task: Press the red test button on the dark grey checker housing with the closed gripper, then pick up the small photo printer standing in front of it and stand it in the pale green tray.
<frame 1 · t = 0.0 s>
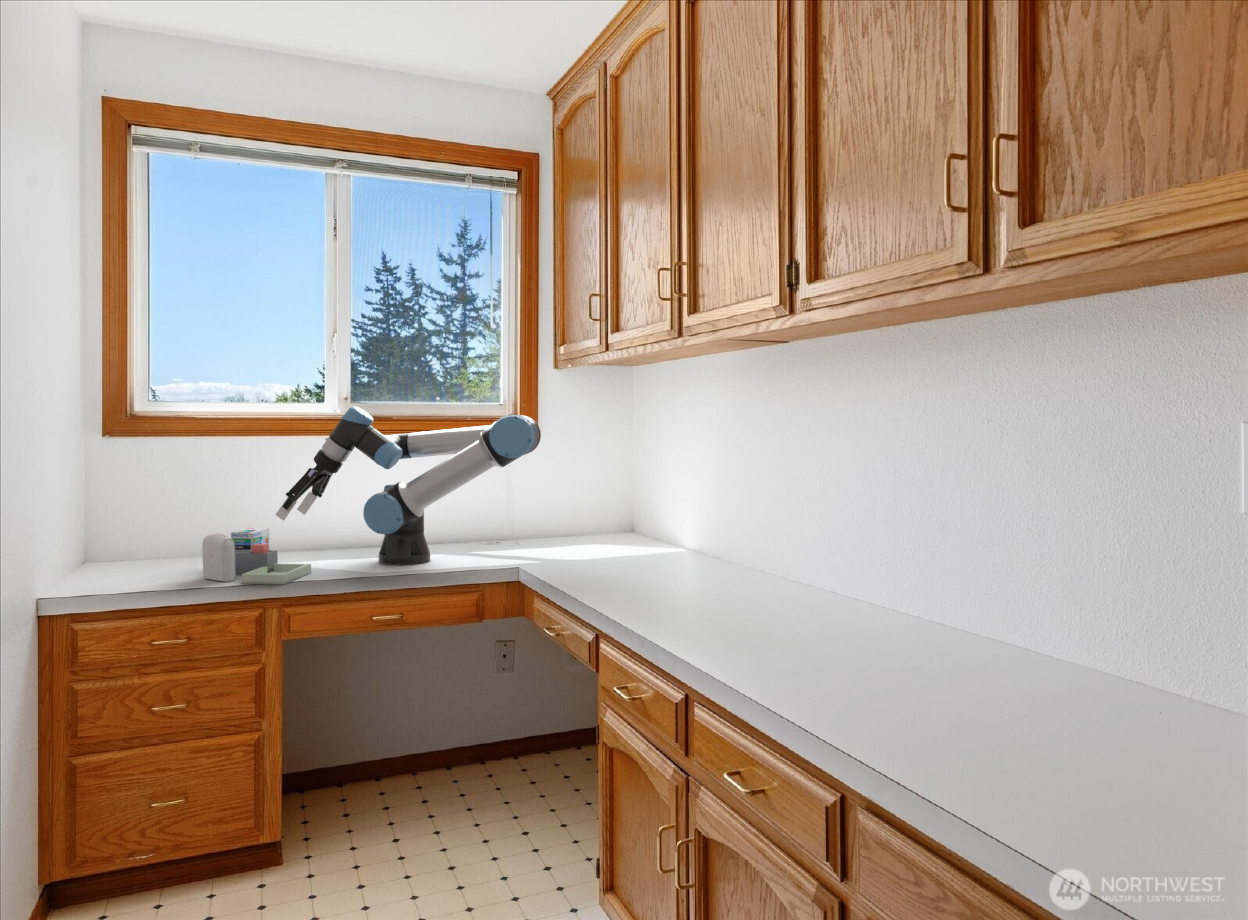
hand: (290, 514, 241), 15 cm above the table, tool tilted 35°, fingers open, 13 cm apart
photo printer: (219, 580, 224), on the table
test button: (260, 553, 232), point 5 cm above the table, slide at 0.0 cm
pale green tray: (277, 578, 226), on the table
light bulb box: (251, 567, 243), on the table
checker housing: (248, 572, 233), on the table
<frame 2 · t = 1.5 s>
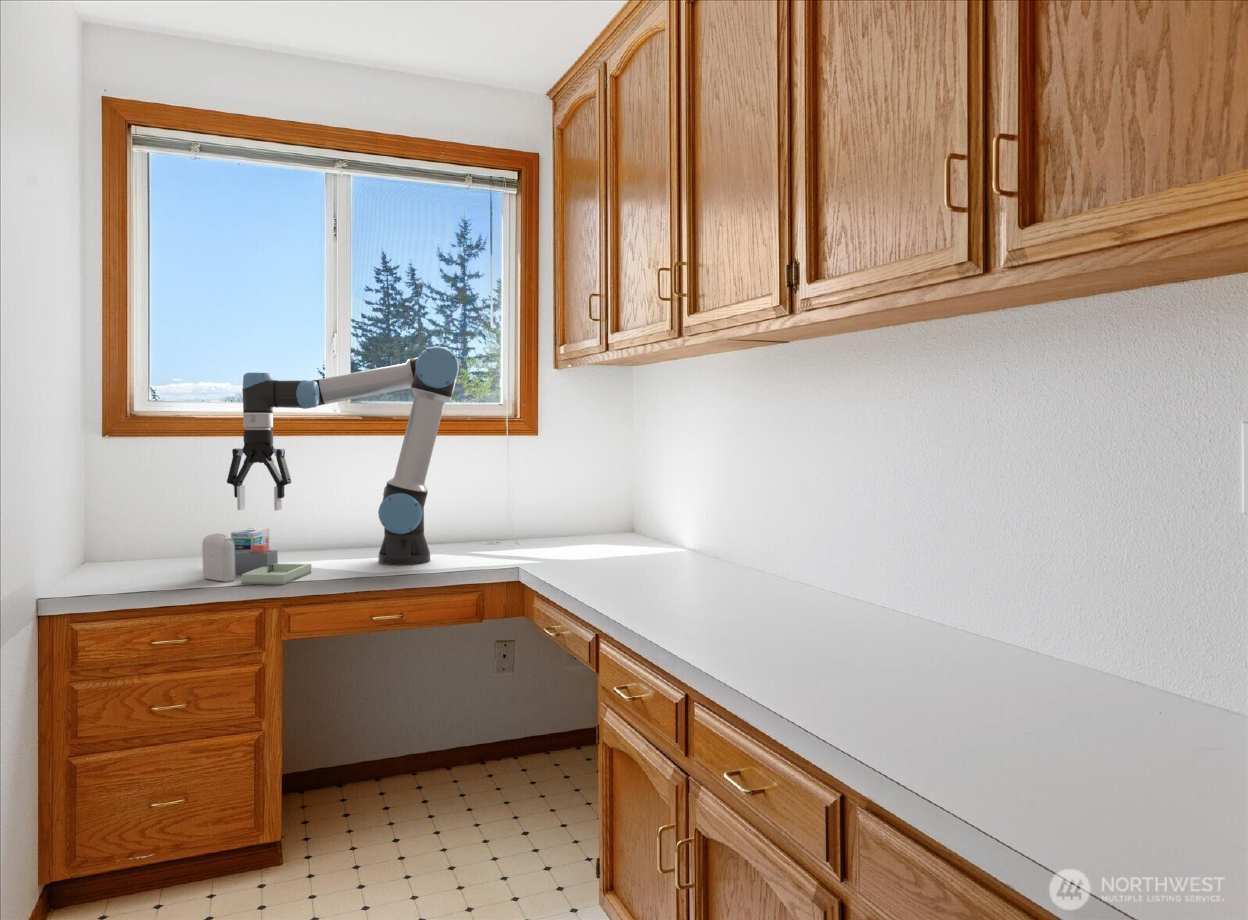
hand: (259, 509, 232), 18 cm above the table, tool pointing down, fingers open, 10 cm apart
nothing on the table moved.
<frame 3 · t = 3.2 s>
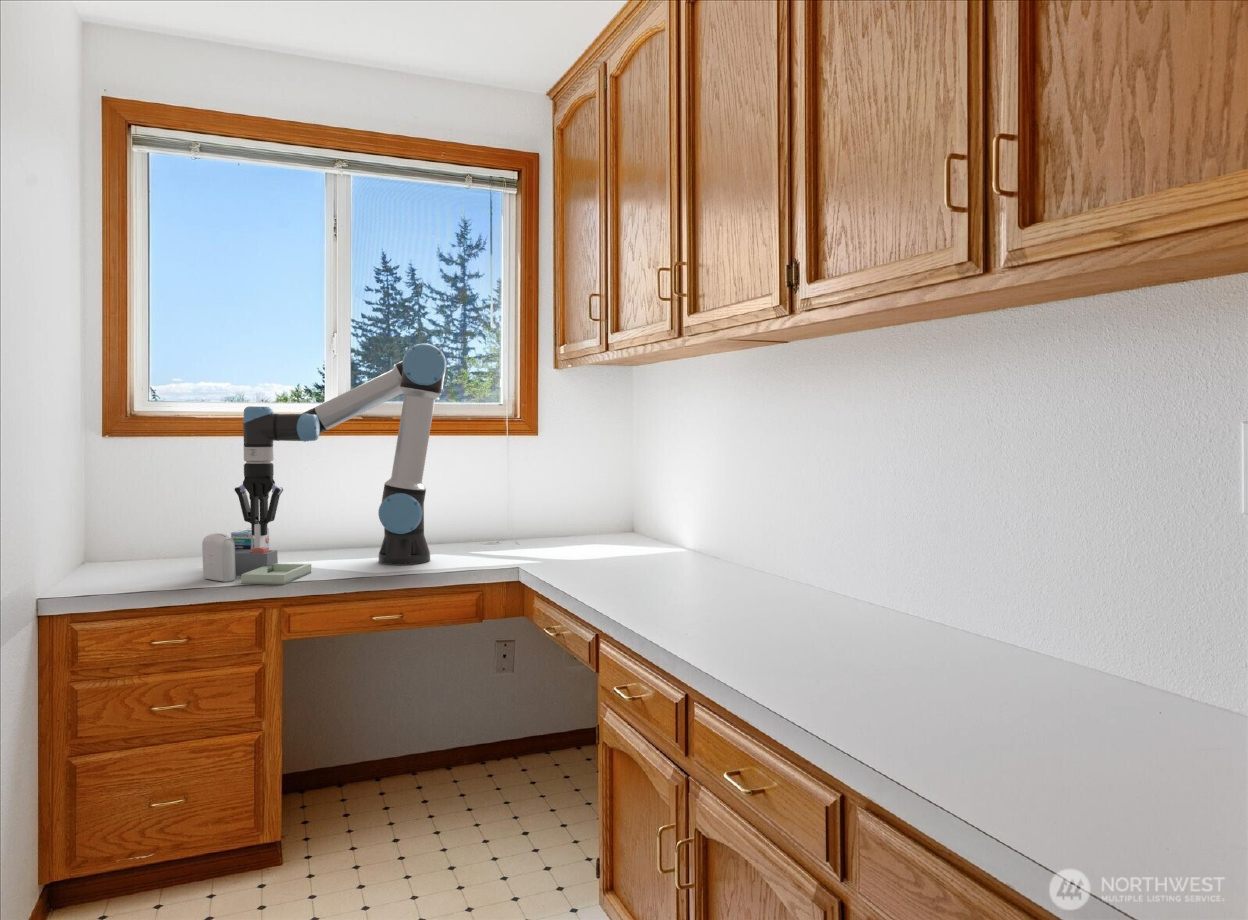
hand: (259, 547, 232), 7 cm above the table, tool pointing down, fingers closed
test button: (260, 557, 232), point 5 cm above the table, slide at 1.0 cm, touching gripper
everything else where it was.
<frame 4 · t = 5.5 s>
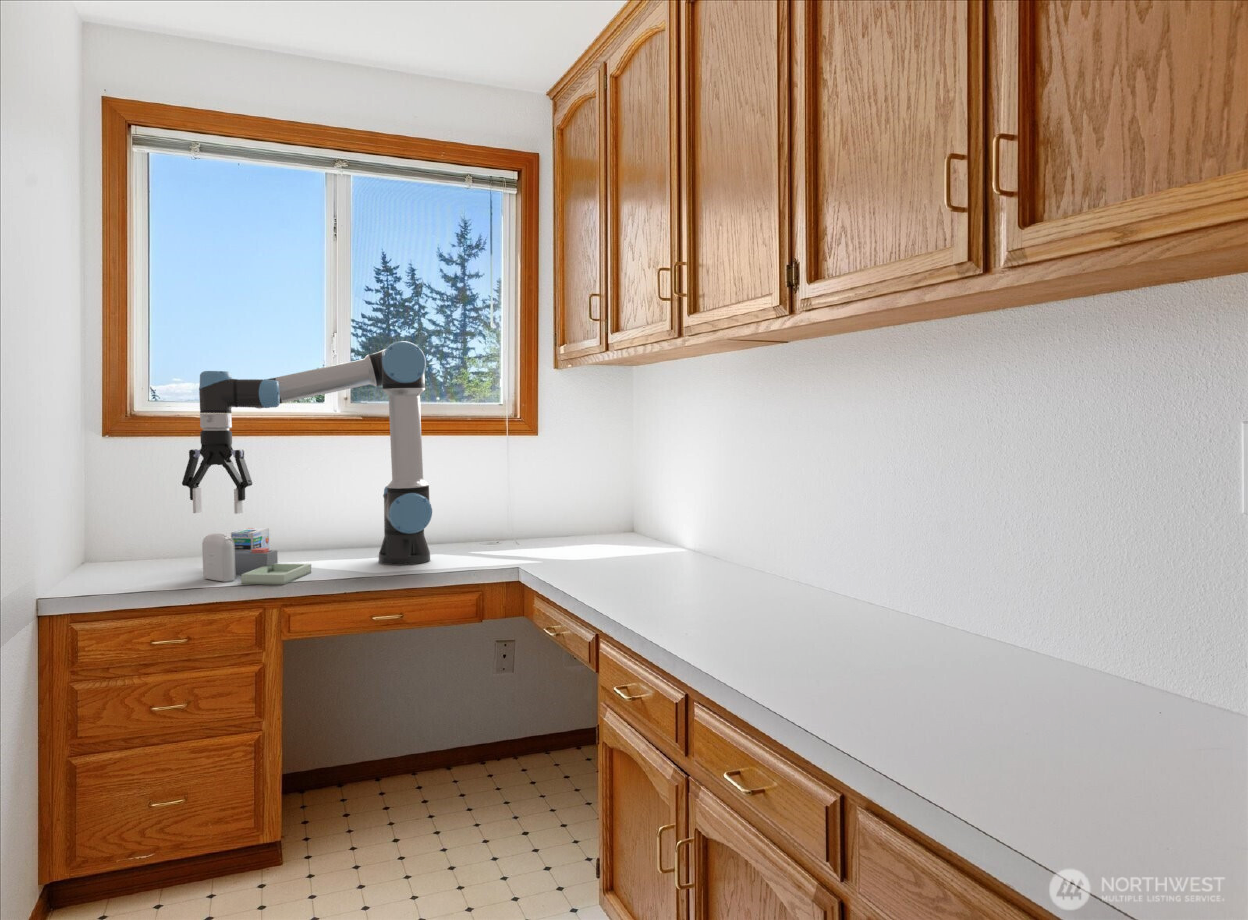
hand: (217, 512, 223), 18 cm above the table, tool pointing down, fingers open, 10 cm apart
test button: (260, 557, 232), point 4 cm above the table, slide at 1.2 cm
everything else where it was.
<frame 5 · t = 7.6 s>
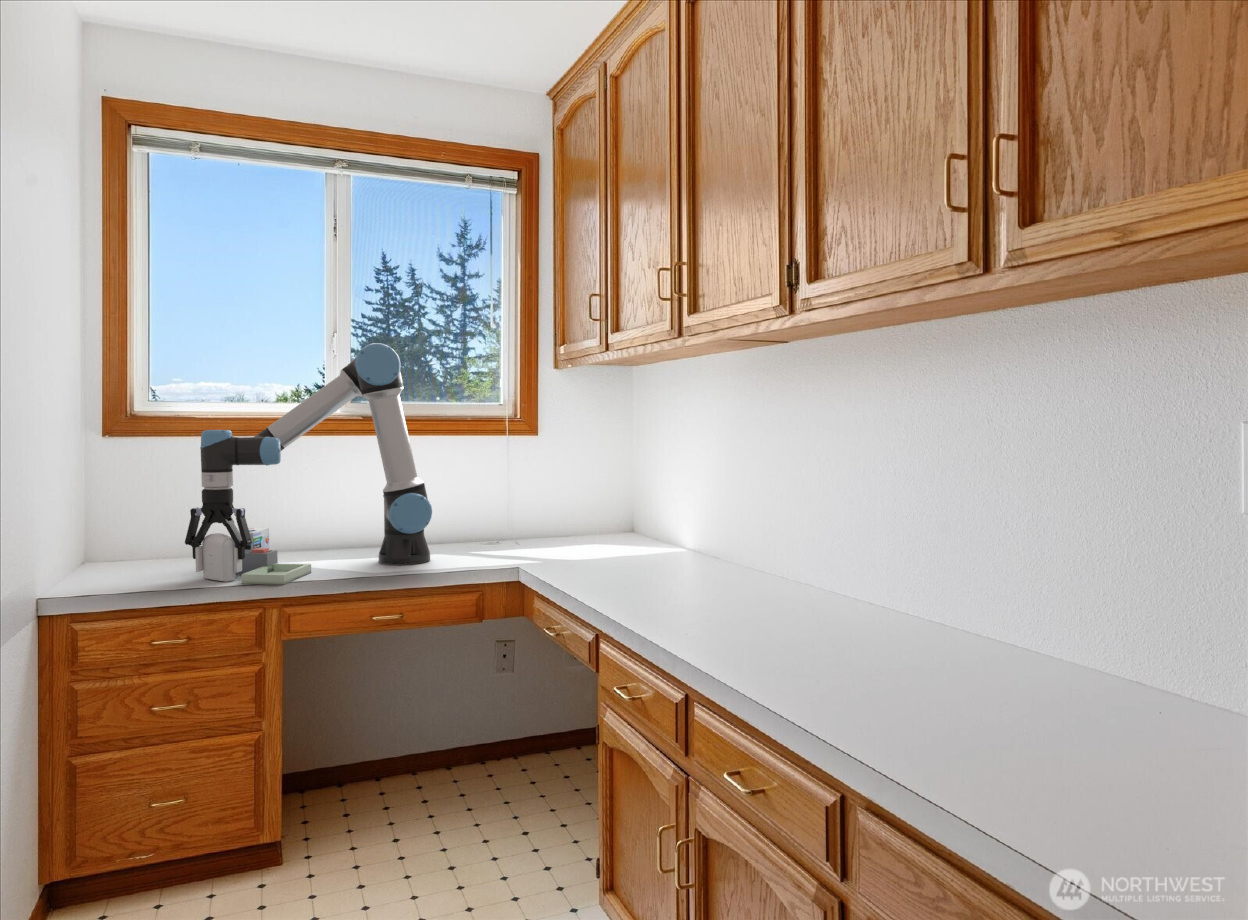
hand: (219, 571, 223), 2 cm above the table, tool pointing down, fingers closed on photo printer, 10 cm apart
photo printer: (219, 580, 224), on the table, touching gripper
everything else where it was.
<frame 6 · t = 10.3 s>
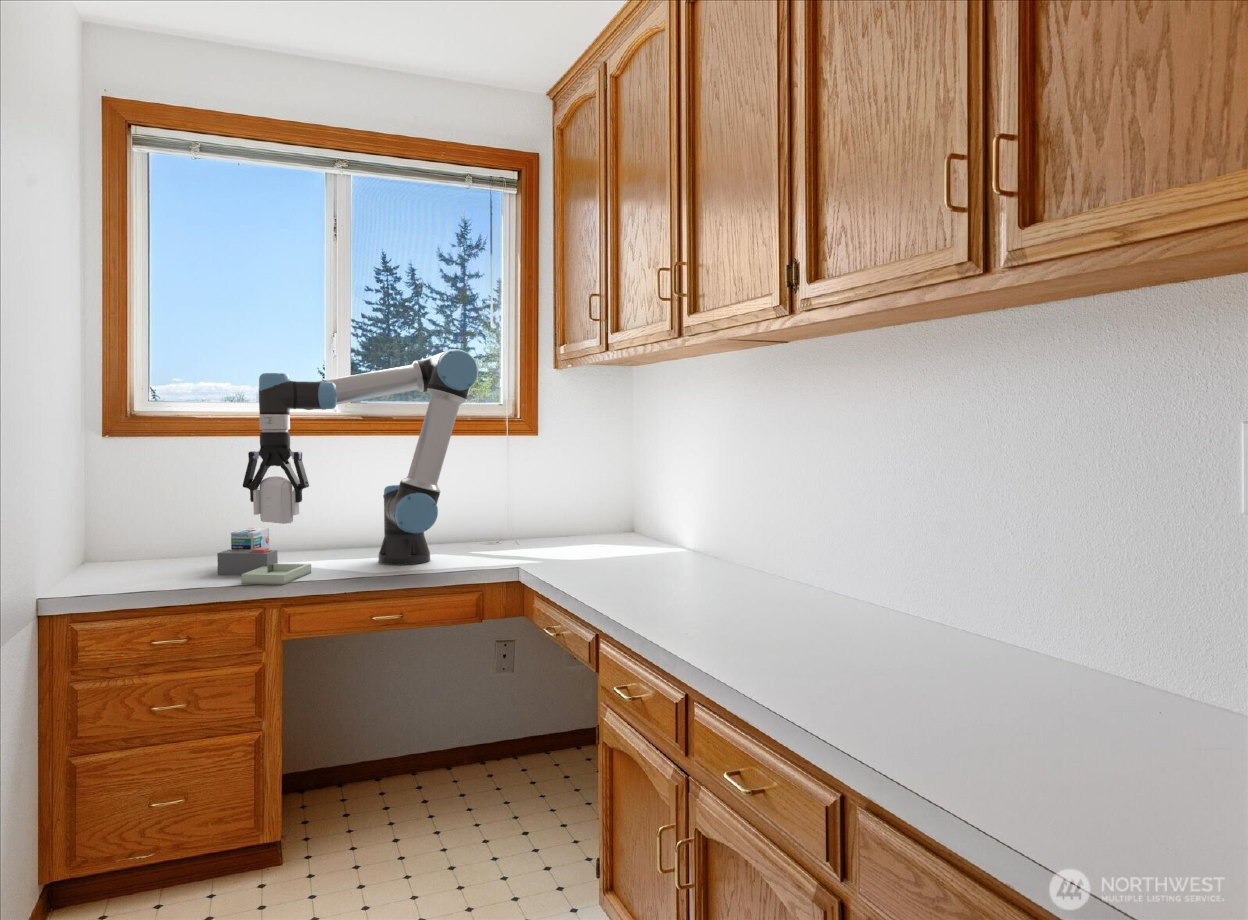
hand: (276, 514, 225), 17 cm above the table, tool pointing down, fingers closed on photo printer, 10 cm apart
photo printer: (276, 523, 225), point 15 cm above the table, touching gripper
everything else where it was.
when the fingers open (4 cm above the table, at t = 13.1 s): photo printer stays where it is, resting on pale green tray.
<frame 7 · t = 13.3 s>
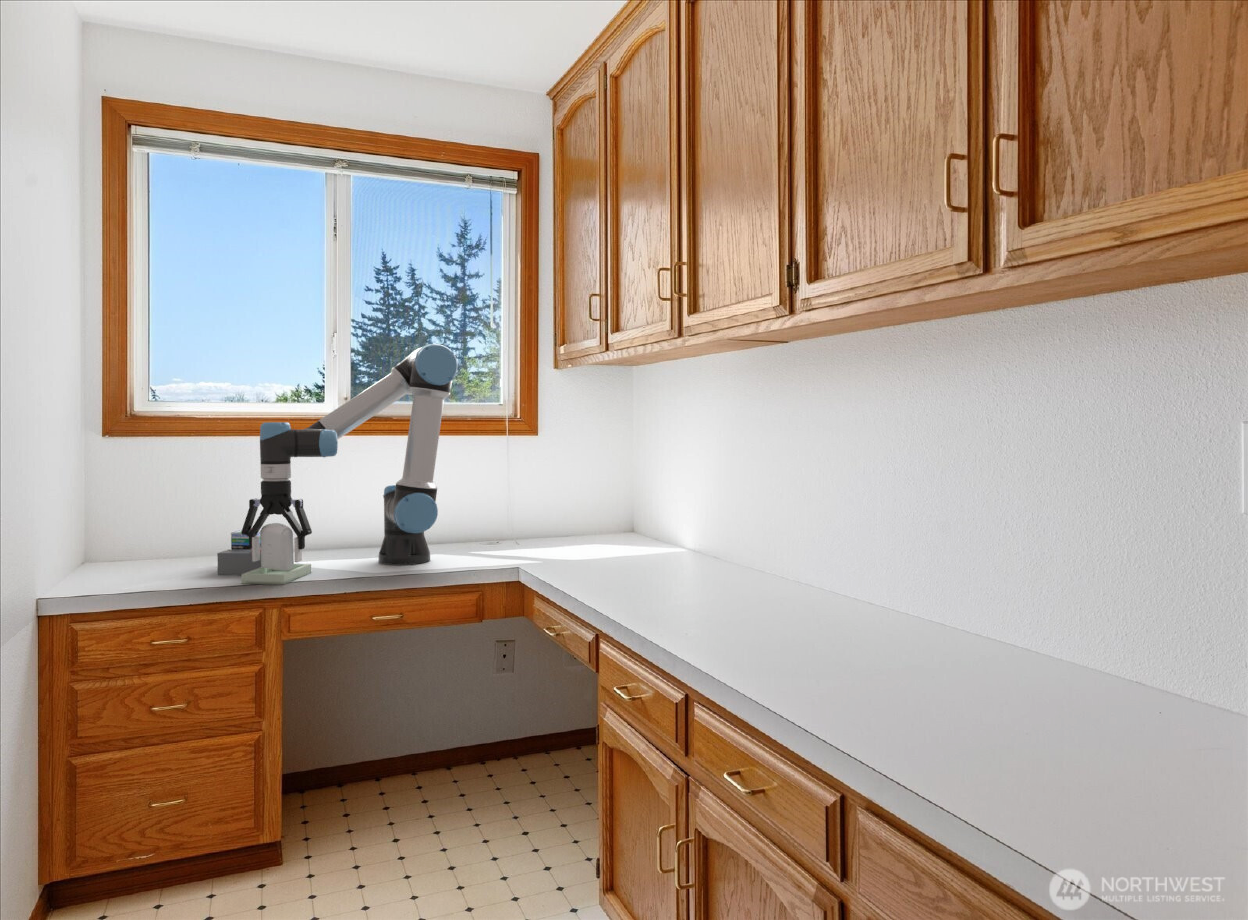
hand: (277, 561, 226), 5 cm above the table, tool pointing down, fingers open, 11 cm apart
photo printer: (277, 569, 226), point 2 cm above the table, touching pale green tray
everything else where it was.
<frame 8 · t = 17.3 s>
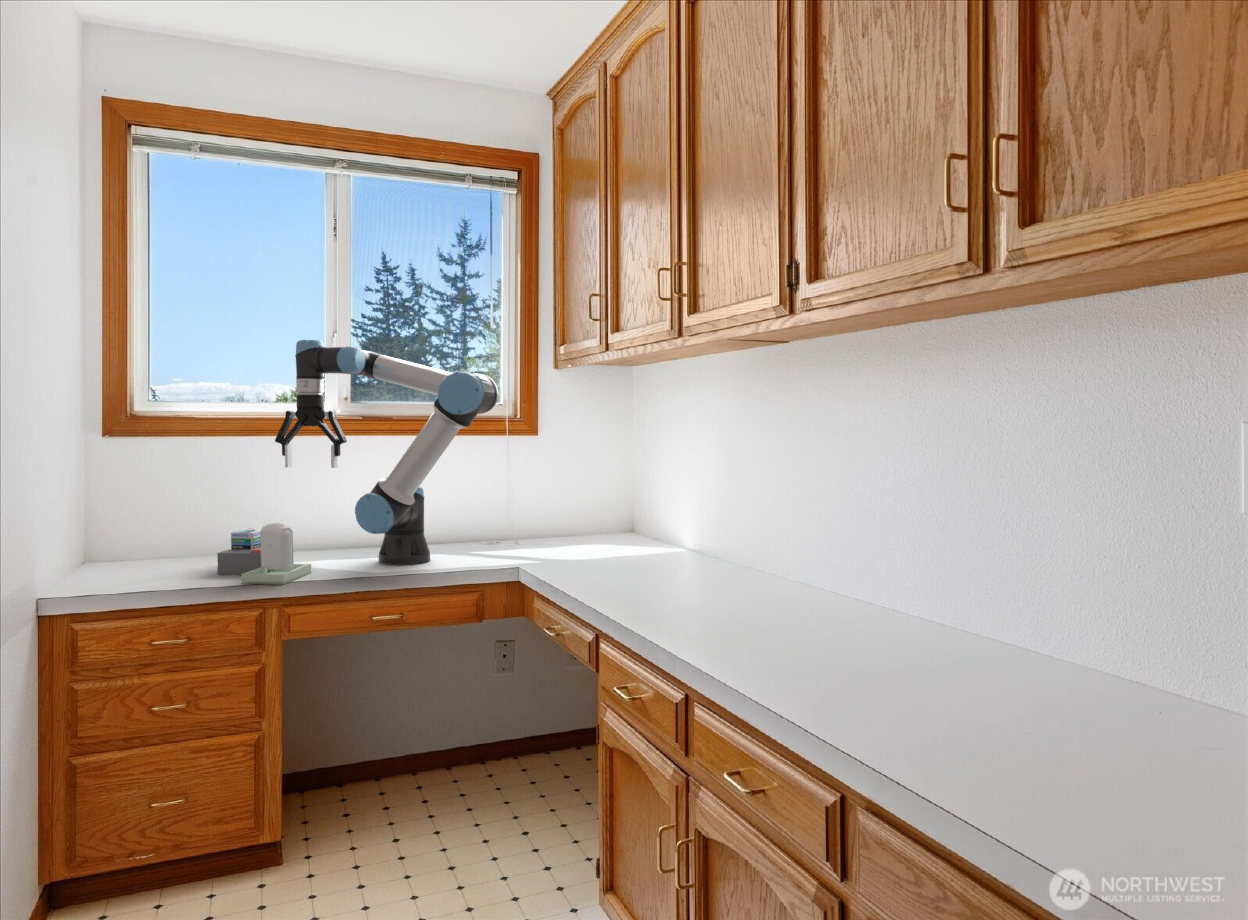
hand: (311, 467, 243), 29 cm above the table, tool pointing down, fingers open, 13 cm apart
nothing on the table moved.
at the end: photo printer inside the target area on the pale green tray (0.0 cm from its centre), point 2.3 cm above the pale green tray's base; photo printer tilted 0°; the gripper is holding nothing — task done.
